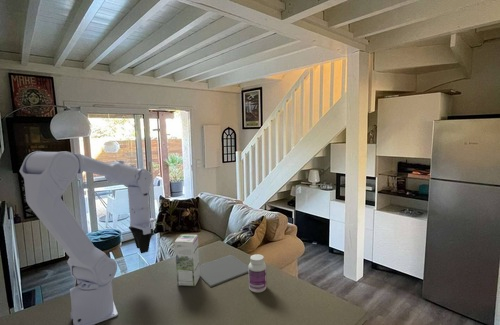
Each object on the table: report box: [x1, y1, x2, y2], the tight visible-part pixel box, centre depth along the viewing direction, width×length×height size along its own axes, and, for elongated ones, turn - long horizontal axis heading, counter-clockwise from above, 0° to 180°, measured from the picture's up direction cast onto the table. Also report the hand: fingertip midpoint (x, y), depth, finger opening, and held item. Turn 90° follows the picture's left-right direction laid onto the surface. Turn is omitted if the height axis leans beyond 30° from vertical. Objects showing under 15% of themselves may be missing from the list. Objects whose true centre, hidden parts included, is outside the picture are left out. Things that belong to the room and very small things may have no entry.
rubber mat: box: [199, 254, 249, 288], centre depth 92 cm, size 16×14×1 cm
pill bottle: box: [248, 253, 267, 293], centre depth 80 cm, size 5×5×10 cm
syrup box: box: [174, 234, 201, 287], centre depth 84 cm, size 6×6×14 cm
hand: (142, 249), depth 85 cm, fingers open, 4 cm apart
